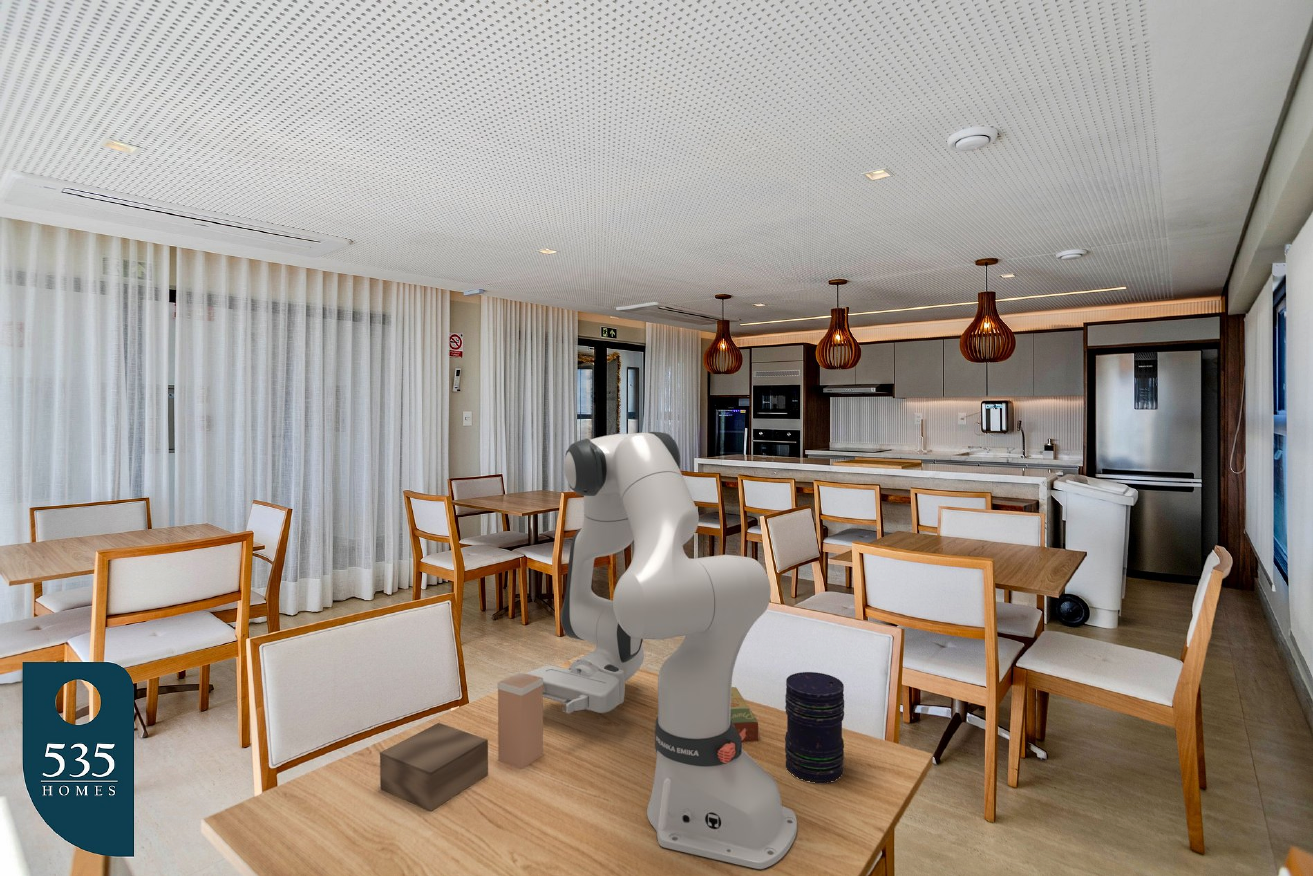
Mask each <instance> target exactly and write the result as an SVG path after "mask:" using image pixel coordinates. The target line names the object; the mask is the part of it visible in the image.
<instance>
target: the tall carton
mask: <svg viewBox="0 0 1313 876" xmlns="http://www.w3.org/2000/svg"><path fill="white" fill-rule="evenodd" d="M527 673H528V672H523V671H517V672H516V673H512V674H511V675H510V676H508V677H505V678H503V679H501V680H499V681H497V705H498V706H497V731H498V732H497V739H498V740H497V741H498V742H497V743H498V746H497V747H498V748H497V750H498V753H497V754H498V756H497V757H498V761H499V762H501V763H503V764H507V765H510V766H513V767H515V768H517V769H521V770H523V769H524V768H526V767H528V766H529V765H531V764H532V763H533V762H534V761H536V760H538V759H539V758H541V757H542V756H544V710H543V709H544V707H543V706H544V697H543V678H542V677H538V676H535V675H531V674H527Z"/></svg>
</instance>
